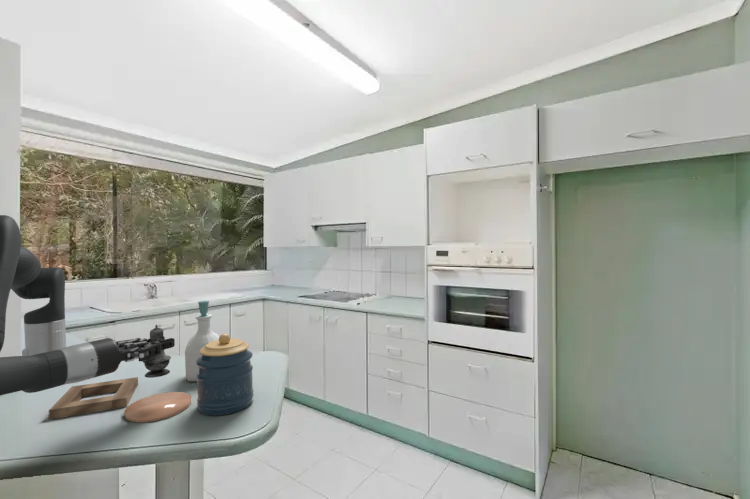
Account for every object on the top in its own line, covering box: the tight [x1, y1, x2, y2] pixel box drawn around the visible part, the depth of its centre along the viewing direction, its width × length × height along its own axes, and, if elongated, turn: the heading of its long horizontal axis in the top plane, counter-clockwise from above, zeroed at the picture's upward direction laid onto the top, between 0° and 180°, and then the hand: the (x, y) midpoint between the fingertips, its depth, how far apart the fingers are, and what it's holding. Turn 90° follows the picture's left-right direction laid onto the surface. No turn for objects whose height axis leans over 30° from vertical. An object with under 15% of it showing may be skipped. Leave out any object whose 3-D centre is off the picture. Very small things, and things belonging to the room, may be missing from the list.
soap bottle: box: [184, 300, 220, 383], centre depth 109 cm, size 10×10×23 cm
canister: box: [196, 333, 254, 417], centre depth 90 cm, size 13×13×18 cm
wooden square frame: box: [48, 376, 139, 420], centre depth 94 cm, size 15×15×2 cm
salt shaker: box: [142, 324, 172, 378], centre depth 89 cm, size 6×6×12 cm
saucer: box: [124, 391, 192, 423], centre depth 89 cm, size 14×14×1 cm
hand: (168, 341), depth 91 cm, fingers closed on salt shaker, 3 cm apart
